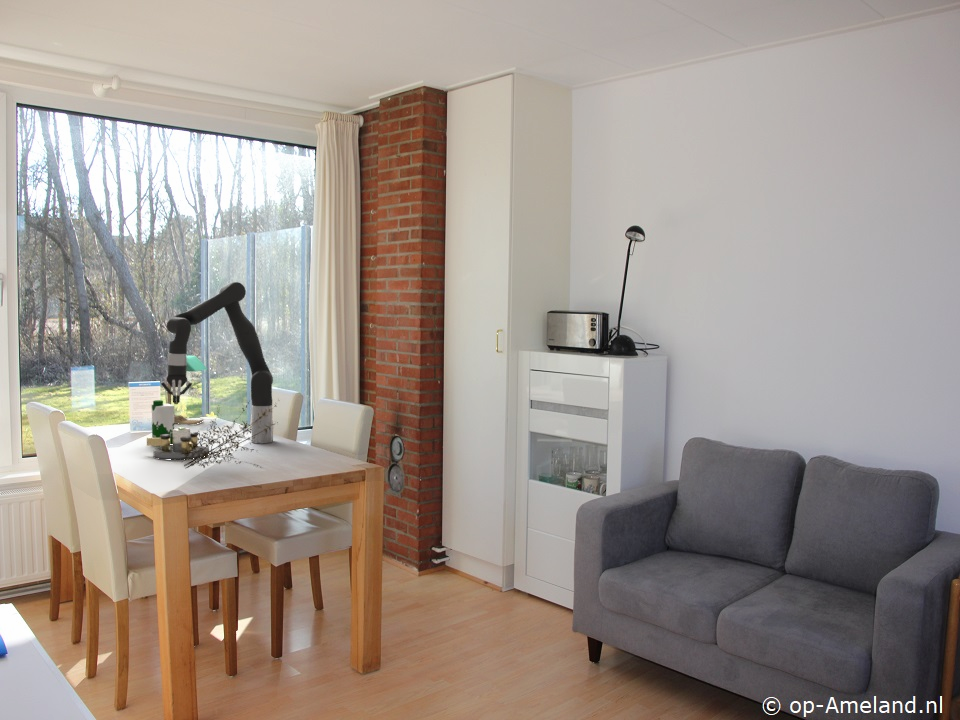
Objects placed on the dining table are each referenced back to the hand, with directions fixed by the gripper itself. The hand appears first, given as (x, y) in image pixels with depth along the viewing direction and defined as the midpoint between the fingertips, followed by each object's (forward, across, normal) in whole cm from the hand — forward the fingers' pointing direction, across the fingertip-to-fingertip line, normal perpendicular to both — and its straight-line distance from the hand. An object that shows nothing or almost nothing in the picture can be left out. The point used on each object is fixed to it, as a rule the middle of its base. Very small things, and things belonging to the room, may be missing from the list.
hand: (176, 403), depth 344 cm
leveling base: (+20, -3, +10) cm, 23 cm away
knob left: (+18, -5, +19) cm, 27 cm away
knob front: (+18, +6, +8) cm, 21 cm away
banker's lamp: (+21, -4, -76) cm, 78 cm away
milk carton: (+21, +5, -16) cm, 27 cm away
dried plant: (+20, -22, +42) cm, 52 cm away
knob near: (+18, -7, +3) cm, 19 cm away
